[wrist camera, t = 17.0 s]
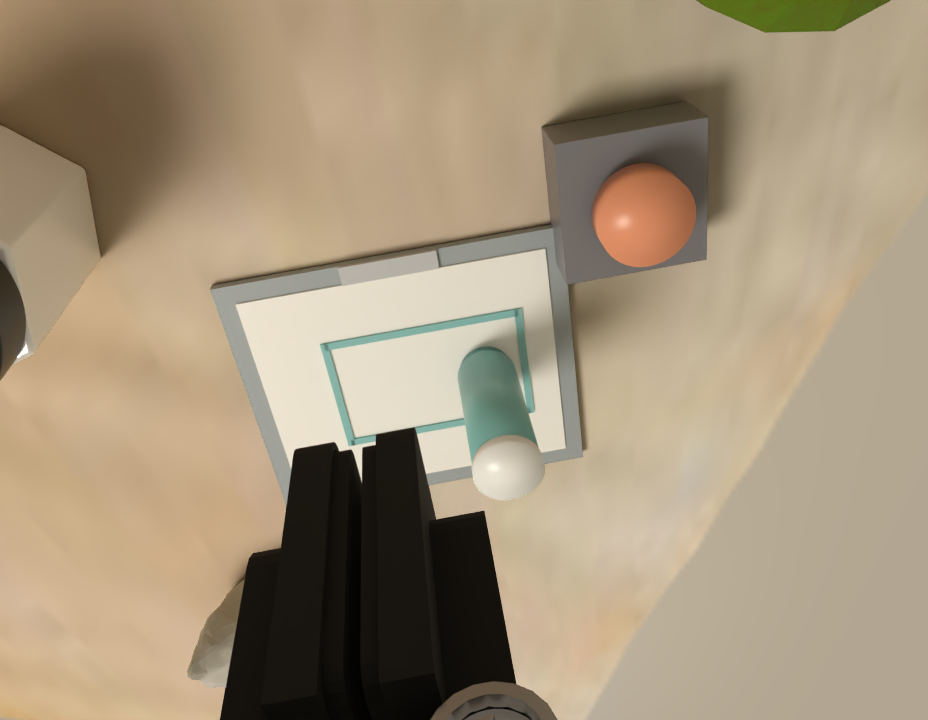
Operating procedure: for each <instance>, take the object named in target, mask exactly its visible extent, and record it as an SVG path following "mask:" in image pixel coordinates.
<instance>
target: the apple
mask: <svg viewBox="0 0 928 720" xmlns="http://www.w3.org/2000/svg"><path fill="white" fill-rule="evenodd" d="M697 1H698V2H700V3H701V4H703V5H704V6H706V7H708V8H710V9H712V10H715V11H717V12H719V13H722V14H724V15H726V16H728V17H731V18H733V19H735V20H738V21H740V22H742V23H744V24H747V25H749V26H751V27H754V28H756V29H758V30H761V31H763V32H810V31H835V30H837V29H839V28H841V27H842V26H844V25H846V24H848V23H850V22H852V21H854V20H855V19H857V18H859V17H861V16H863V15H865V14H866V13H868V12H870V11H872V10H874V9H876V8H878V7H879V6H881V5H883V4H885V3H887V2H889V1H890V0H697Z"/></svg>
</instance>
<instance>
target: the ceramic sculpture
mask: <svg viewBox="0 0 928 720" xmlns="http://www.w3.org/2000/svg"><path fill="white" fill-rule="evenodd" d="M244 580H245V579H244ZM244 580H243V581H241V582H240V583H239V584H238V585H236V586H235V587H234V588H233V589H232V590H231V591H230V592H229V593H228V594H227V596H226V598H225V599H224V601H223V602H222V604H221V605H220V606H219V607H218V608H217V609H216V610H215V611H214V612H213V613H212V614H211V615H210V616H209V618H208V619H207V621H206V624H205V626H204V628H203V630H202V631H201V634H200V637H199V640H198V644H197V646H196V648H195V650H194V653H193V656H192V660H191V663H190V665H189V668H188V671H187V673H188V677H189V678H191V679H192V680H199V681H200V682H201V683H203V684H204V685H205V686H206V687H209V688H226V683H227V677H228V671H229V666H230V660H231V654H232V649H233V643H234V637H235V632H236V626H237V620H238V615H239V609H240V603H241V598H242V592H243V586H244Z"/></svg>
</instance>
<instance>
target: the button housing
mask: <svg viewBox="0 0 928 720" xmlns="http://www.w3.org/2000/svg"><path fill="white" fill-rule="evenodd" d="M542 137H543V147H544V158H545V168H546V178H547V189H548V199H549V210H550V220H551V225H552V227H553V235H554V245H555V256H556V264H557V266H558V268H559V270H560V272H561V274H562V277H563V279H564V281H565V283H566V285H568V284H573V283H579V282H585V281H590V280H596V279H601V278H607V277H612V276H618V275H623V274H629V273H634V272H640V271H645V270H651V269H656V268H662V267H667V266H673V265H679V264H684V263H690V262H695V261H701V260H706V256H707V184H708V117H707V116H706V115H705V114H703V113H702V112H700V111H699V110H697V109H696V108H695V107H693V106H692V105H690V104H689V103H687V102H686V101H684V102H679V103H673V104H667V105H662V106H656V107H651V108H645V109H639V110H634V111H628V112H623V113H617V114H611V115H606V116H600V117H595V118H589V119H583V120H578V121H572V122H567V123H561V124H556V125H550V126H544V127H542ZM638 163H652V164H657V165H660V166H662V167H664V168H666V169H668V170H669V171H671V172H672V173H673V174H674V175H675V176H676V177H677V178H678V179H679V180H680V181H681V182H682V183H683V184H685V185H686V186H687V188H688V189H689V190H690V192H691V194H692V195H693V198H694V201H695V205H696V221H695V225H694V228H693V231H692V233H691V235H690V237H689V239H688V241H687V242H686V243H685V245H684V246H683V247H682V248H681V249H680V250H679V251H678V252H677V253H676V254H675V255H673V256H672V257H671V258H669V259H667V260H666V261H664V262H662V263H659V264H656V265H653V266H648V267H632V266H628V265H625V264H622V263H620V262H618V261H617V260H615V259H614V258H613V257H611V256H610V255H609V253H608V252H607V251H606V249H605V248H604V246H603V245H602V243H601V242H600V240H599V239H598V237H597V235H596V234H595V231H594V229H593V226H592V220H591V211H592V205H593V201H594V198H595V196H596V194H597V192H598V190H599V189H600V187H601V186H602V184H603V183H604V182H605V181H606V180H607V179H608V178H609V177H610V176H611V175H613V174H614V173H615V172H617V171H618V170H620V169H622V168H624V167H627V166H630V165H633V164H638Z"/></svg>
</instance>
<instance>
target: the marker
mask: <svg viewBox="0 0 928 720" xmlns="http://www.w3.org/2000/svg"><path fill="white" fill-rule="evenodd" d="M458 385H459V390H460V396H461V402H462V408H463V414H464V420H465V426H466V432H467V438H468V444H469V450H470V456H471V462H472V465H471V468H472V475H473V480H474V483H475V485H476V487H477V488H478V490H479V491H480V492H481V493H483V494H484V495H486V496H488V497H490V498H493V499H496V500H514V499H518V498H521V497H524V496H526V495H528V494H529V493H531V492H532V491H533V490H535V489H536V488H537V487H538V485H539V484H540V483H541V481H542V479H543V477H544V473H545V465H544V460H543V457H542V454H541V451H540V449H539V447H538V444H537V440H536V437H535V434H534V430H533V427H532V423H531V420H530V416H529V413H528V410H527V406H526V403H525V399H524V396H523V392H522V389H521V386H520V382H519V379H518V375H517V372H516V368H515V366H514V363H513V362H512V360H511V359H510V358H509V357H508V356H507V355H506V354H505V353H504V352H502V351H501V350H499V349H497V348H494V347H480V348H477V349H474V350H472V351H471V352H469V353H468V354H467V355H466V356H465V357H464V359H463V360H462V363H461V366H460V368H459V371H458Z"/></svg>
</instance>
